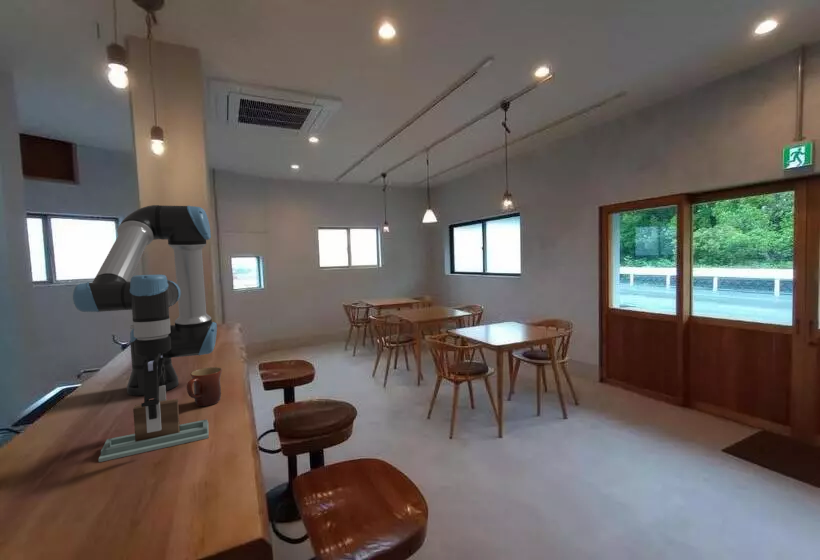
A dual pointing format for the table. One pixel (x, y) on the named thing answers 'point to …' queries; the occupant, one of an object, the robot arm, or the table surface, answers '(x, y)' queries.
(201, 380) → the mug
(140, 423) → the slider block
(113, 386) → the table surface
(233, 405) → the table surface
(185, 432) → the track base
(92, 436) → the table surface
